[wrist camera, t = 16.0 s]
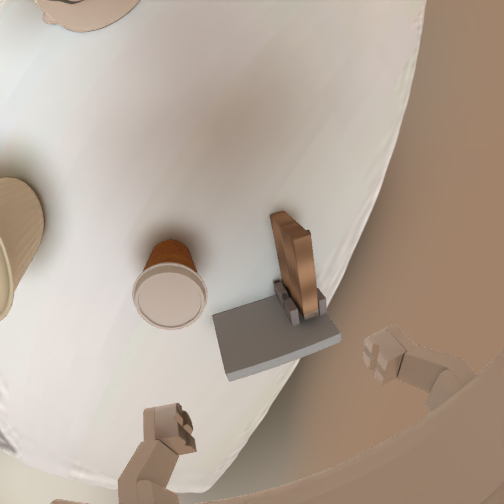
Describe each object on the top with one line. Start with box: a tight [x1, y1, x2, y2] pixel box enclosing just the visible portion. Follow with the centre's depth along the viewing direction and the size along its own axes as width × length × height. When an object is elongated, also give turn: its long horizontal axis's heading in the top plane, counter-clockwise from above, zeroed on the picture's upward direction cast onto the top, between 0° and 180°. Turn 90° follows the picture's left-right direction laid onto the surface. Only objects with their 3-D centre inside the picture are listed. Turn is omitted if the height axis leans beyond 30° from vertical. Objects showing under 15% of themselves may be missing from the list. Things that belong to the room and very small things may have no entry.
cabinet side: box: [212, 282, 341, 382], centre depth 44 cm, size 5×18×14 cm, turn 102°
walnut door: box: [270, 211, 319, 320], centre depth 43 cm, size 14×4×10 cm, turn 12°
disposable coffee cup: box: [132, 240, 208, 330], centre depth 37 cm, size 10×10×12 cm
